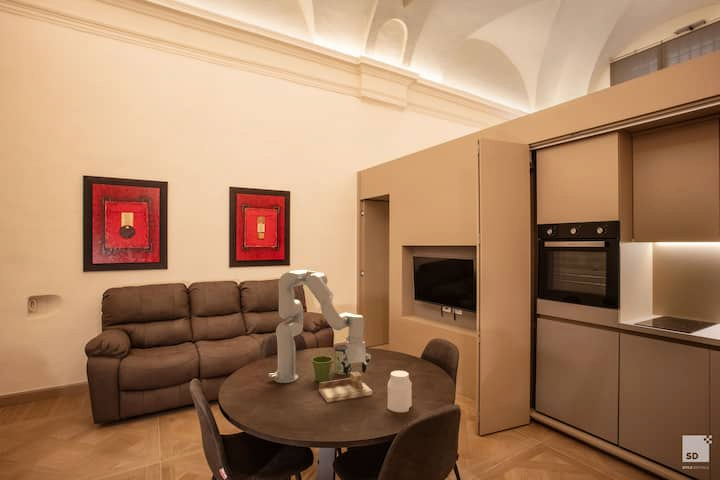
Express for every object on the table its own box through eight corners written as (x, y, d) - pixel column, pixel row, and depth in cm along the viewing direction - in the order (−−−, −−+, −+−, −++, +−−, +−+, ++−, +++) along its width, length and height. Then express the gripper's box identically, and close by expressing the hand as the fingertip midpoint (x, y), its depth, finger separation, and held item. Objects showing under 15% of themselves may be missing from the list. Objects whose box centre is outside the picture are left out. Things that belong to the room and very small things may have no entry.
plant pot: (307, 381, 199) (307, 360, 199) (319, 374, 209) (319, 354, 209) (325, 385, 193) (325, 363, 193) (337, 378, 204) (337, 357, 204)
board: (327, 402, 172) (327, 392, 172) (319, 391, 185) (319, 382, 185) (372, 394, 181) (372, 385, 181) (361, 384, 194) (361, 376, 194)
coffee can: (352, 368, 219) (352, 344, 219) (351, 374, 209) (351, 349, 209) (335, 368, 219) (335, 344, 220) (333, 374, 209) (333, 349, 209)
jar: (393, 400, 174) (393, 368, 175) (413, 403, 171) (412, 370, 171) (385, 410, 164) (385, 376, 164) (406, 413, 160) (406, 379, 160)
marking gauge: (358, 392, 179) (358, 379, 179) (350, 384, 189) (350, 372, 189) (365, 390, 180) (365, 378, 181) (357, 383, 191) (357, 371, 191)
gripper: (342, 342, 181) (341, 377, 181) (374, 340, 187) (373, 373, 187) (337, 338, 188) (336, 372, 188) (368, 336, 194) (367, 368, 194)
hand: (354, 373), depth 188 cm, fingers open, 9 cm apart
